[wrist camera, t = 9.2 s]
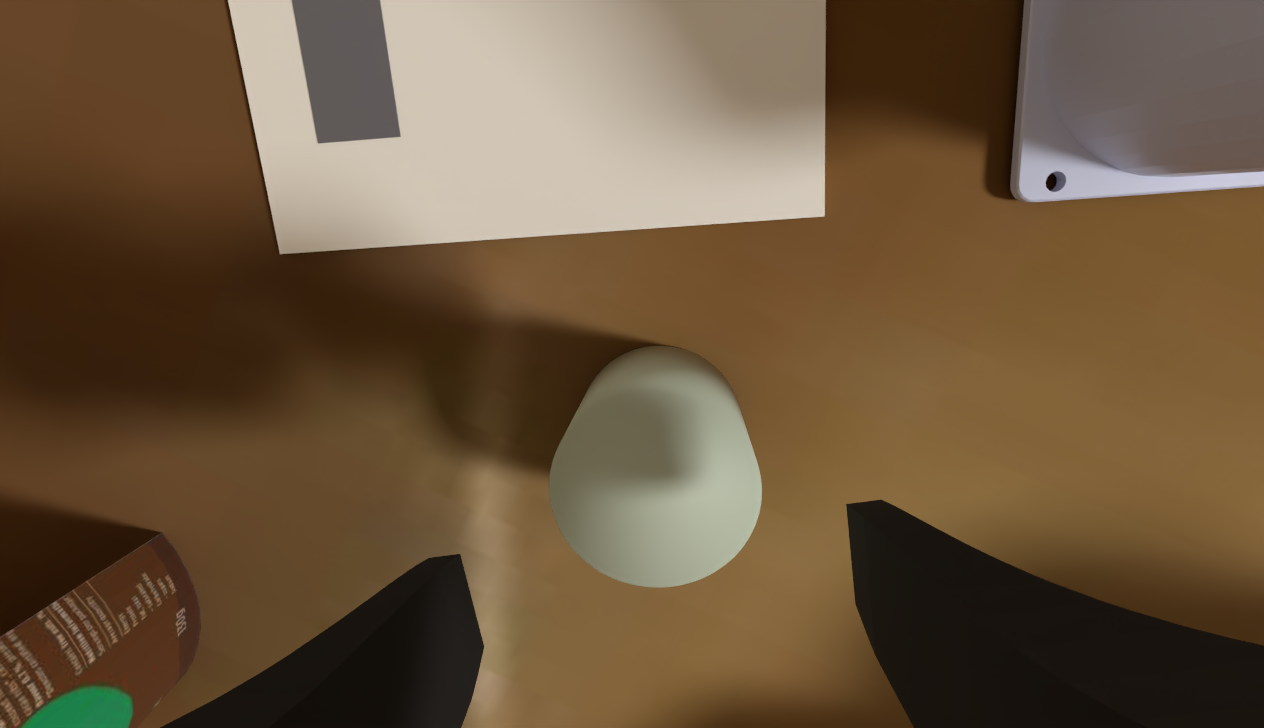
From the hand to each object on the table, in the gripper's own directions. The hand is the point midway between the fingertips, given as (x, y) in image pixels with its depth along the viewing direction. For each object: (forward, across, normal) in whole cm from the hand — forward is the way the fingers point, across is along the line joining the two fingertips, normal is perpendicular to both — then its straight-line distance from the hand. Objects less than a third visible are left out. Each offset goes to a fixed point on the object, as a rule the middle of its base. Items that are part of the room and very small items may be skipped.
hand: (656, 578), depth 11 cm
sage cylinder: (+8, 0, 0) cm, 8 cm away
